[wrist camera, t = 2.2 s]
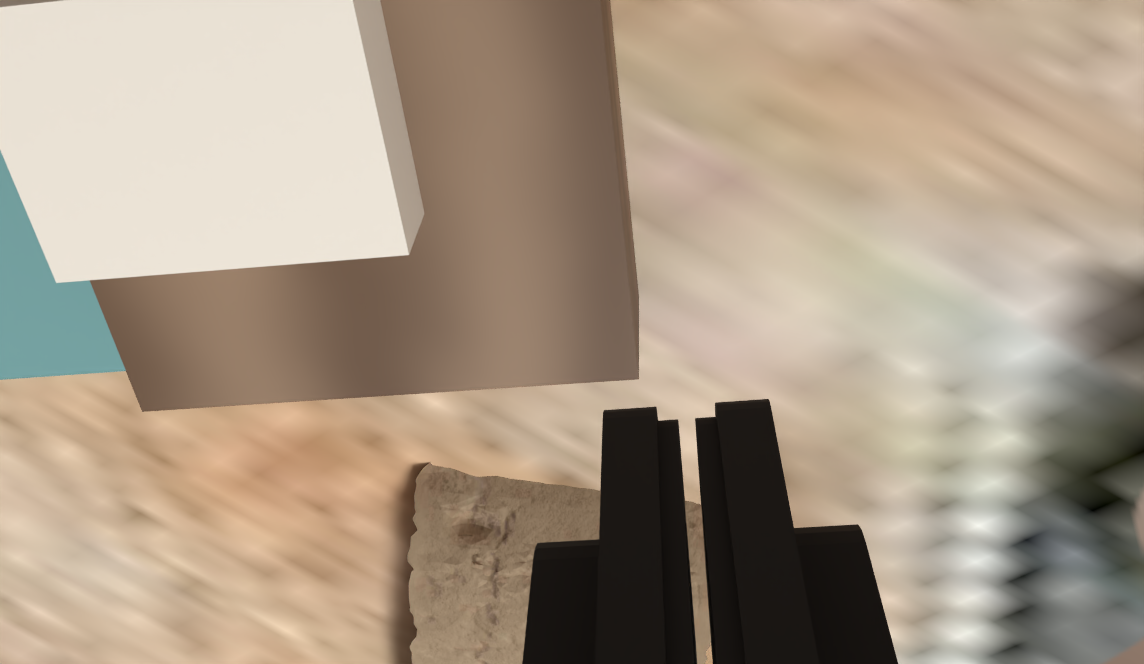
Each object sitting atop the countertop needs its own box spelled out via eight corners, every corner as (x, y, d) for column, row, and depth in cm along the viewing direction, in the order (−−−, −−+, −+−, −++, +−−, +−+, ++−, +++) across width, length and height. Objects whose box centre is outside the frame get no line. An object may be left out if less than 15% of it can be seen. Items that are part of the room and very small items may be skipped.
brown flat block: (572, -381, 22) (561, -384, 19) (638, 297, 31) (638, 379, 27) (-28, -297, 24) (-139, -286, 20) (194, 329, 32) (142, 411, 29)
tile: (368, -57, 22) (345, -30, 20) (424, 213, 25) (408, 254, 23) (-6, -15, 23) (-58, 13, 21) (93, 240, 26) (56, 282, 24)
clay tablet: (416, 440, 35) (401, 498, 32) (735, 474, 35) (742, 534, 32) (412, 731, 42) (399, 793, 40) (671, 758, 42) (673, 822, 40)
